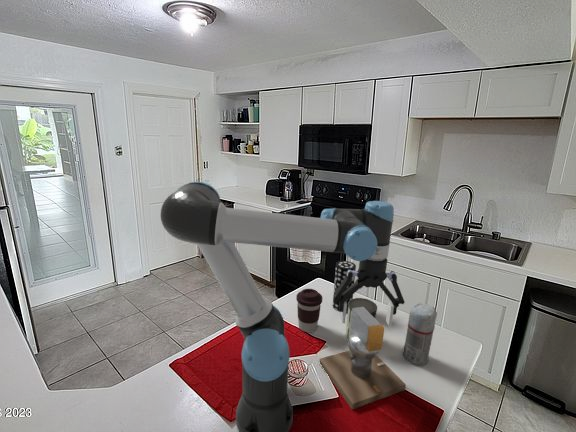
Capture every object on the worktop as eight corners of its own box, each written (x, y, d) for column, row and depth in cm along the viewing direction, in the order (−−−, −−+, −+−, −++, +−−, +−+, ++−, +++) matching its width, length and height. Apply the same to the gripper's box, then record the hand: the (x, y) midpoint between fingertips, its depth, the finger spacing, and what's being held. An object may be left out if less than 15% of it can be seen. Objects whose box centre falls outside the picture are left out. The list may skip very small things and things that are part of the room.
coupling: (342, 339, 101) (344, 309, 98) (366, 335, 104) (370, 305, 101) (360, 364, 91) (363, 331, 88) (387, 359, 93) (391, 326, 90)
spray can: (433, 366, 105) (443, 314, 100) (409, 367, 105) (417, 314, 99) (421, 349, 113) (429, 300, 108) (398, 350, 113) (406, 300, 107)
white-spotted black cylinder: (328, 305, 140) (332, 264, 134) (340, 299, 145) (344, 259, 140) (343, 314, 134) (347, 270, 128) (355, 307, 139) (359, 265, 134)
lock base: (352, 409, 88) (355, 379, 85) (319, 363, 105) (321, 337, 102) (404, 389, 95) (409, 362, 93) (366, 350, 112) (369, 325, 110)
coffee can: (372, 332, 122) (376, 299, 119) (373, 349, 113) (378, 314, 109) (345, 328, 124) (348, 296, 121) (344, 344, 115) (348, 310, 111)
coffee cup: (313, 338, 118) (316, 302, 114) (290, 329, 122) (291, 294, 118) (324, 324, 126) (326, 290, 122) (302, 316, 131) (304, 284, 127)
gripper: (330, 259, 86) (325, 327, 91) (423, 263, 85) (411, 331, 91) (328, 249, 93) (323, 312, 99) (413, 253, 93) (403, 317, 98)
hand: (365, 322), depth 95 cm, fingers open, 13 cm apart
